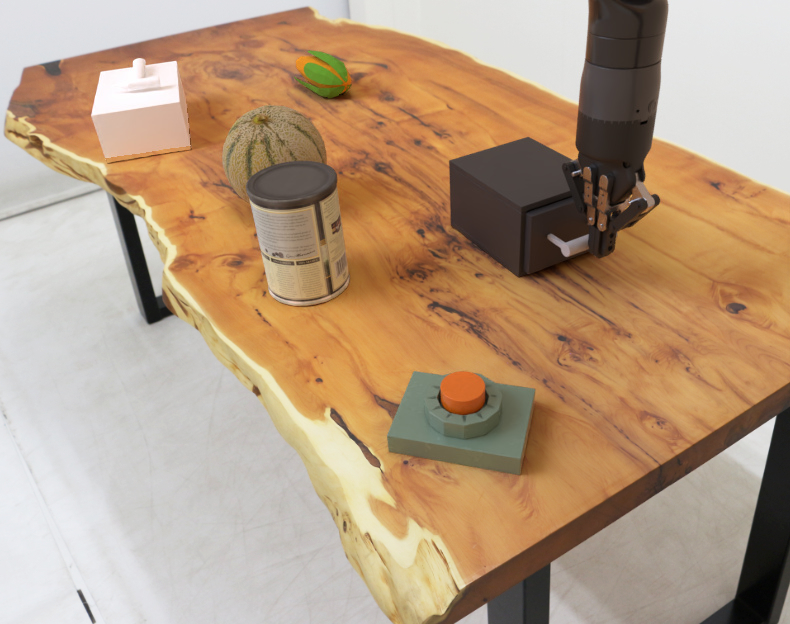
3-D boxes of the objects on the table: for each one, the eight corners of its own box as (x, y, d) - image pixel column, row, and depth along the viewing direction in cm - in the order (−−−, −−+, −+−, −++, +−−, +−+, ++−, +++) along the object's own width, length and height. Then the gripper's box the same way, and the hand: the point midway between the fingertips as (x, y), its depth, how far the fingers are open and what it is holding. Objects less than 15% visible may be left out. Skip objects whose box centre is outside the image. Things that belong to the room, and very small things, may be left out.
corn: (326, 66, 133) (278, 44, 147) (328, 106, 138) (281, 82, 151) (359, 60, 137) (309, 39, 150) (361, 99, 141) (312, 76, 155)
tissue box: (107, 163, 123) (86, 101, 116) (114, 114, 143) (96, 59, 136) (191, 149, 125) (176, 88, 119) (187, 103, 145) (173, 48, 139)
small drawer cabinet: (599, 246, 91) (607, 177, 85) (518, 277, 86) (521, 207, 81) (525, 200, 102) (528, 136, 96) (450, 225, 98) (448, 160, 92)
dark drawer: (627, 261, 86) (636, 203, 81) (551, 291, 82) (555, 232, 77) (532, 201, 100) (534, 149, 95) (463, 225, 96) (462, 171, 91)
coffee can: (268, 266, 92) (247, 165, 84) (347, 256, 93) (334, 155, 85) (266, 312, 84) (243, 205, 76) (353, 301, 85) (339, 194, 76)
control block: (534, 405, 69) (536, 373, 66) (520, 476, 62) (521, 444, 59) (414, 386, 72) (412, 356, 69) (388, 452, 65) (384, 421, 63)
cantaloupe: (319, 174, 114) (306, 81, 105) (343, 215, 102) (330, 113, 93) (227, 193, 110) (205, 98, 101) (241, 237, 99) (217, 134, 90)
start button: (488, 388, 66) (489, 374, 65) (480, 418, 63) (480, 404, 62) (446, 382, 67) (446, 368, 66) (436, 411, 64) (435, 397, 63)
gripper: (545, 95, 74) (537, 239, 84) (636, 133, 64) (615, 292, 74) (601, 79, 77) (586, 221, 87) (697, 114, 67) (668, 270, 77)
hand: (600, 254), depth 81 cm, fingers closed
